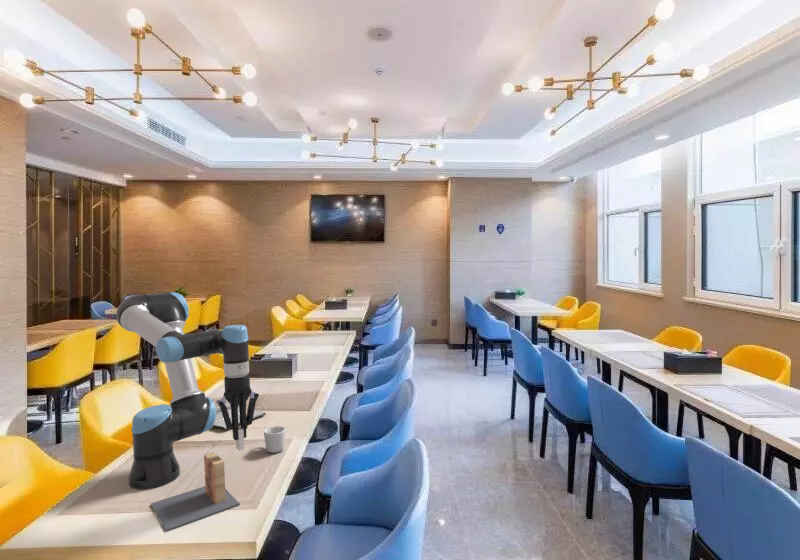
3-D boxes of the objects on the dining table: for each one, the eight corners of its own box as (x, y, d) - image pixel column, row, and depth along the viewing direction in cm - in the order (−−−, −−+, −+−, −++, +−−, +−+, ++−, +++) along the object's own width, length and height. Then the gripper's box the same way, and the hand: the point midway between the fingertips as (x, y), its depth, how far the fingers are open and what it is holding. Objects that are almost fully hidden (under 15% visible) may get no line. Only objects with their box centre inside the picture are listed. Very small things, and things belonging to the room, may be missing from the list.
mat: (224, 433, 196) (224, 422, 196) (189, 424, 208) (188, 414, 208) (266, 416, 216) (266, 406, 216) (232, 409, 228) (231, 399, 228)
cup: (257, 448, 179) (256, 428, 179) (275, 442, 185) (274, 422, 184) (271, 456, 172) (270, 435, 171) (290, 450, 177) (289, 429, 177)
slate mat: (150, 505, 139) (150, 503, 139) (218, 483, 152) (218, 481, 152) (166, 531, 126) (166, 530, 126) (239, 505, 138) (239, 503, 138)
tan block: (205, 492, 145) (204, 455, 145) (215, 489, 147) (213, 452, 147) (215, 504, 138) (213, 464, 138) (225, 500, 140) (224, 461, 140)
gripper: (220, 381, 139) (223, 458, 140) (261, 373, 147) (265, 446, 148) (211, 376, 145) (215, 451, 146) (252, 369, 153) (255, 439, 154)
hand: (240, 448), depth 147 cm, fingers closed
